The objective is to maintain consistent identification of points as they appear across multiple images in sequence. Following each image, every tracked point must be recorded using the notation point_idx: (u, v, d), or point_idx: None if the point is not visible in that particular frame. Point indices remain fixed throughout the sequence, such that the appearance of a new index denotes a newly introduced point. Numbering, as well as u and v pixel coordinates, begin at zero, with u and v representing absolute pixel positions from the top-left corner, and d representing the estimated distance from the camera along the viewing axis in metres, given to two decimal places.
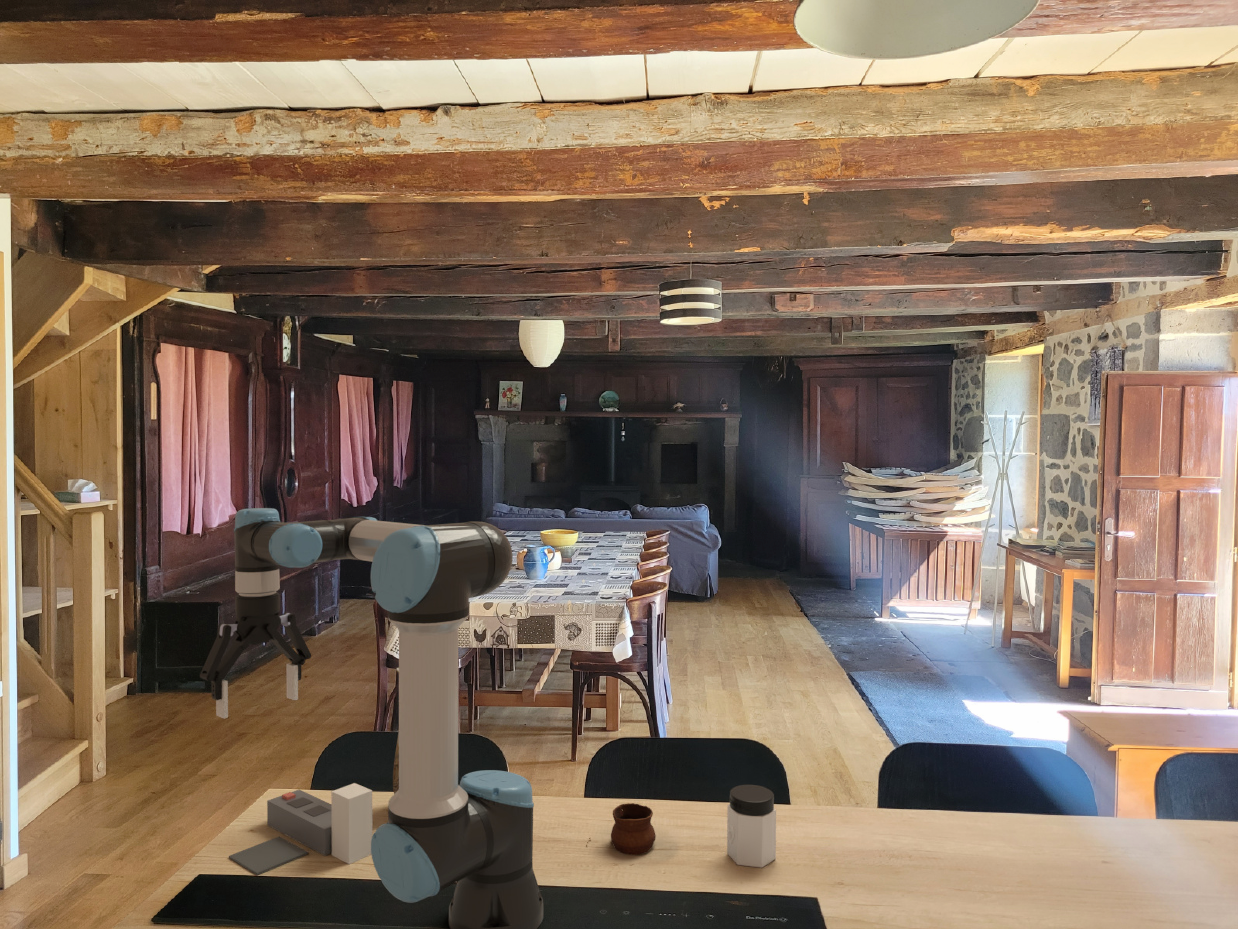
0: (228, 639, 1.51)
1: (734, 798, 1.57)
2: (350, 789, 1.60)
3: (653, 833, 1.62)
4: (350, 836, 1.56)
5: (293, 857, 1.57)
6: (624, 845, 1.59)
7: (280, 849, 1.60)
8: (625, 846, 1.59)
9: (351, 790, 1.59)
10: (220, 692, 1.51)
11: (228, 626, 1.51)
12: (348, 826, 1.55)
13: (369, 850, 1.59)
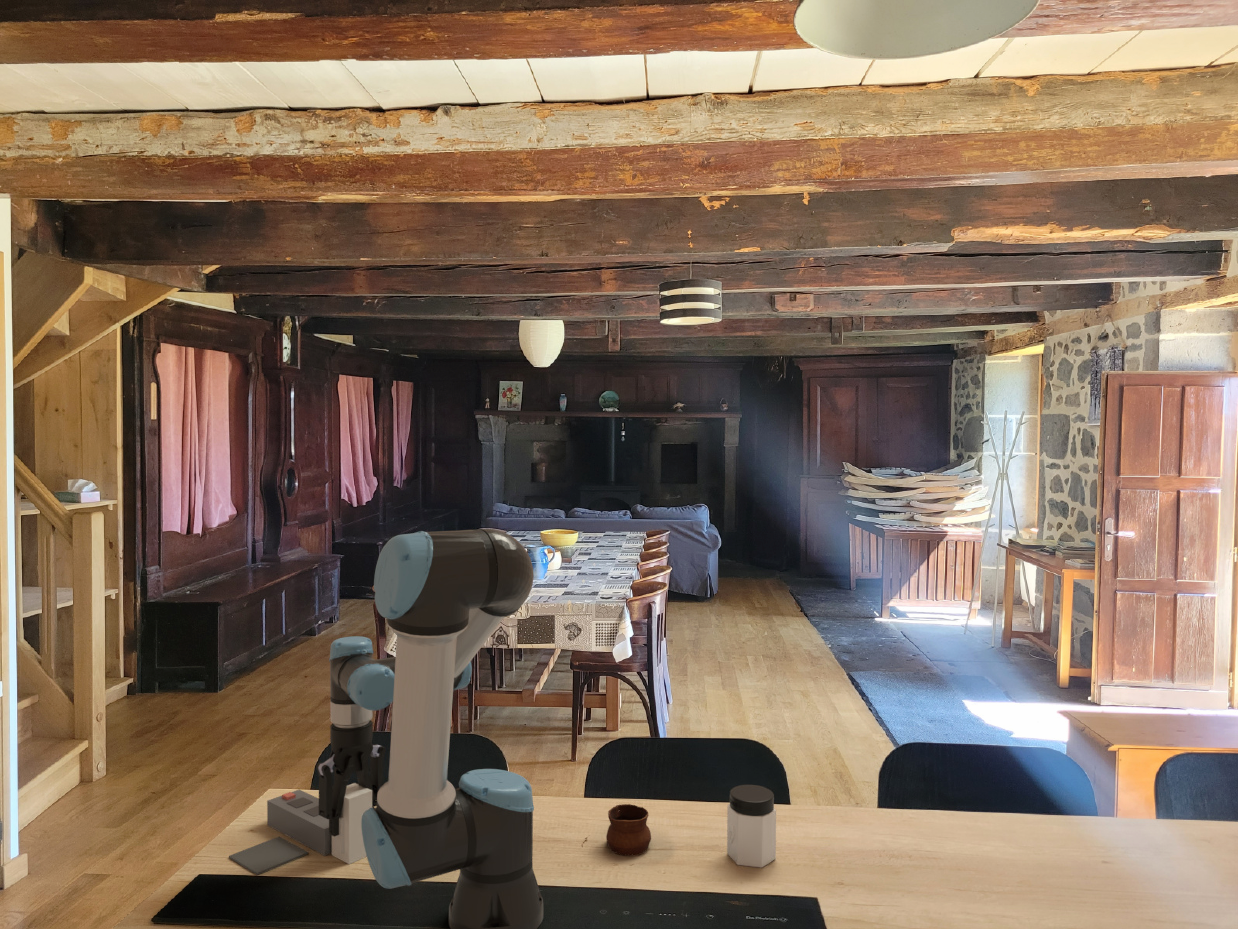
0: (330, 777, 1.54)
1: (734, 798, 1.57)
2: (350, 789, 1.59)
3: (648, 835, 1.61)
4: (350, 836, 1.56)
5: (293, 857, 1.57)
6: (618, 846, 1.59)
7: (280, 849, 1.60)
8: (619, 847, 1.59)
9: (351, 790, 1.59)
10: (337, 828, 1.56)
11: (326, 767, 1.53)
12: (348, 826, 1.55)
13: None
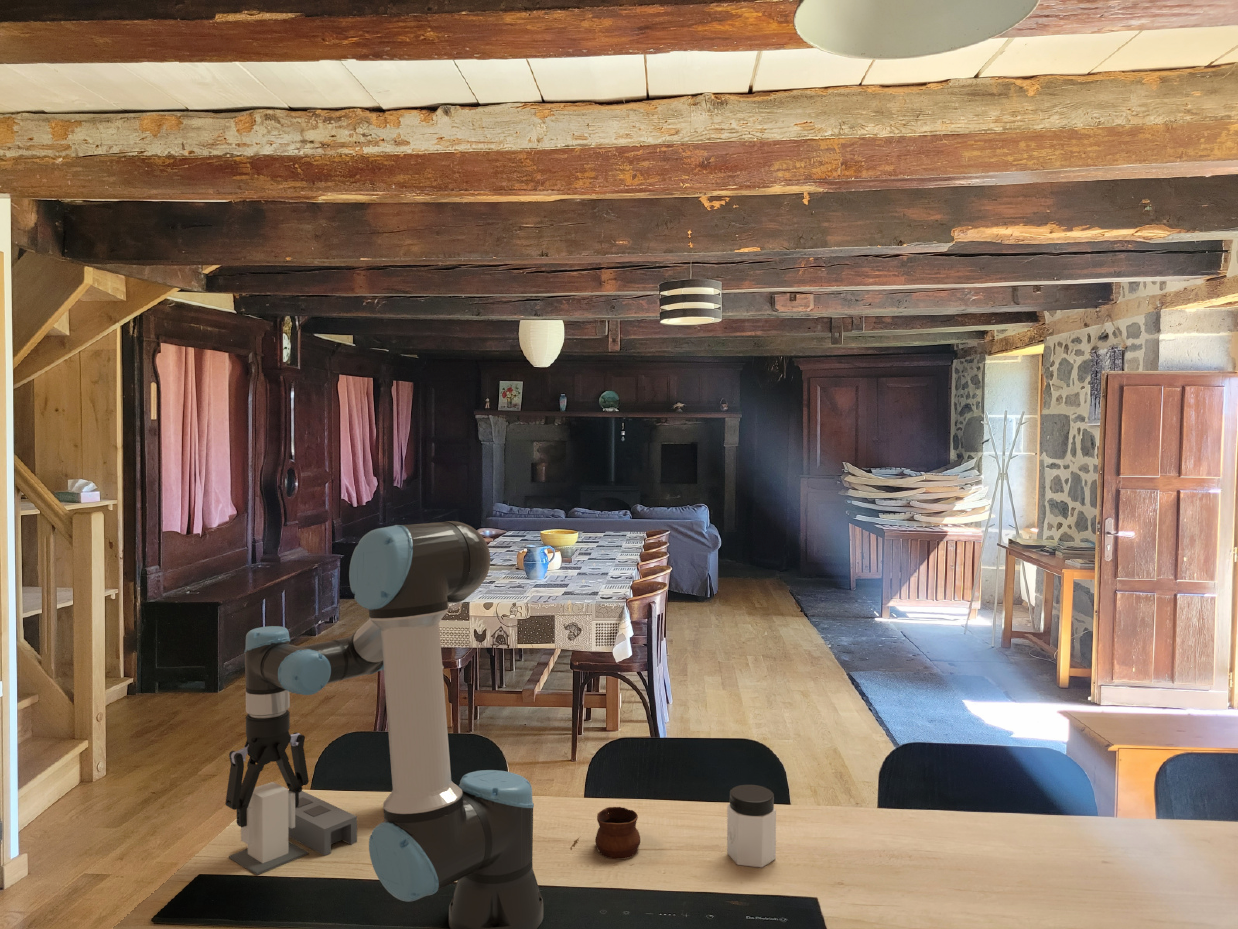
0: (242, 766, 1.53)
1: (734, 798, 1.57)
2: (267, 787, 1.59)
3: (637, 838, 1.60)
4: (264, 835, 1.55)
5: (293, 857, 1.57)
6: (607, 849, 1.58)
7: None
8: (608, 850, 1.58)
9: (268, 788, 1.58)
10: (245, 819, 1.54)
11: (238, 755, 1.52)
12: (262, 825, 1.55)
13: (285, 849, 1.58)
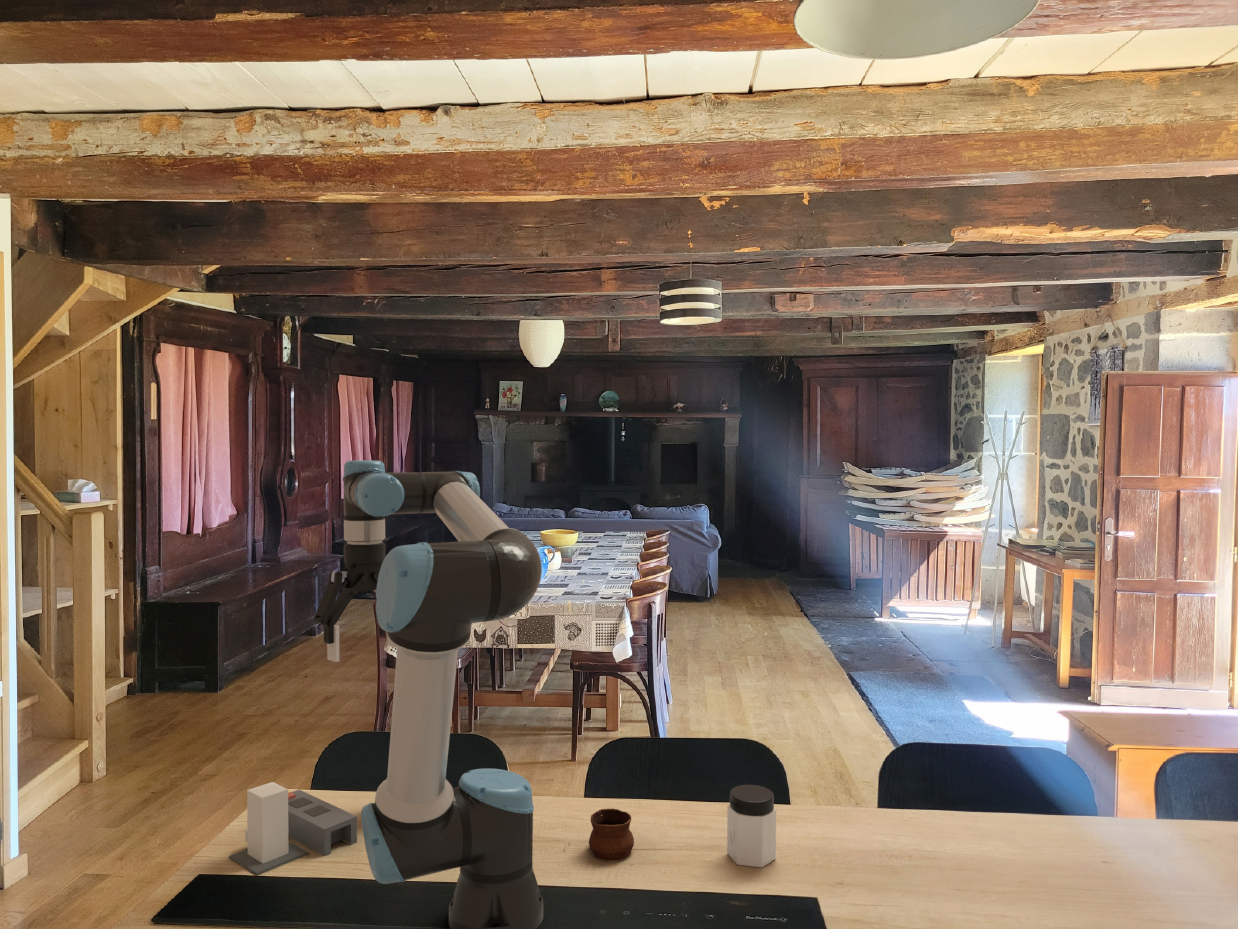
0: (339, 585, 1.56)
1: (734, 798, 1.57)
2: (267, 788, 1.59)
3: (631, 840, 1.59)
4: (264, 835, 1.55)
5: (293, 857, 1.57)
6: (600, 851, 1.57)
7: None
8: (601, 852, 1.57)
9: (267, 789, 1.58)
10: (332, 636, 1.56)
11: (340, 572, 1.56)
12: (261, 825, 1.55)
13: (285, 849, 1.58)
